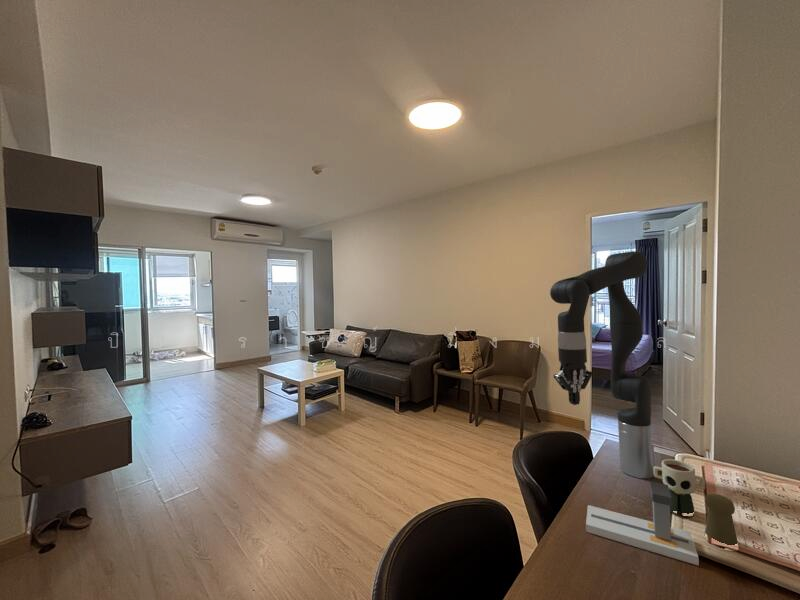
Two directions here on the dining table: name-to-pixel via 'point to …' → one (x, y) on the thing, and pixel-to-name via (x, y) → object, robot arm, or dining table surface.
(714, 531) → the cork
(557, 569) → the dining table surface
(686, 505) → the character mug
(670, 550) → the fader console
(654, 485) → the fader knob
